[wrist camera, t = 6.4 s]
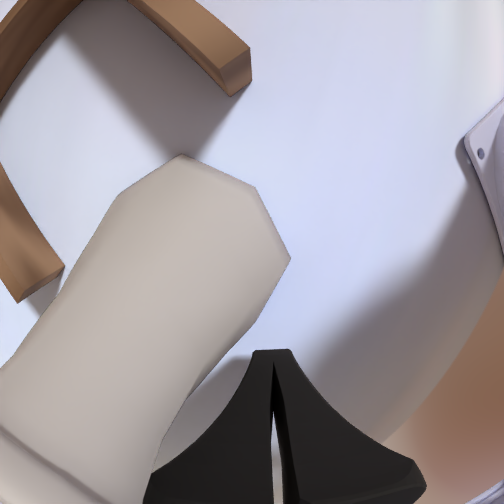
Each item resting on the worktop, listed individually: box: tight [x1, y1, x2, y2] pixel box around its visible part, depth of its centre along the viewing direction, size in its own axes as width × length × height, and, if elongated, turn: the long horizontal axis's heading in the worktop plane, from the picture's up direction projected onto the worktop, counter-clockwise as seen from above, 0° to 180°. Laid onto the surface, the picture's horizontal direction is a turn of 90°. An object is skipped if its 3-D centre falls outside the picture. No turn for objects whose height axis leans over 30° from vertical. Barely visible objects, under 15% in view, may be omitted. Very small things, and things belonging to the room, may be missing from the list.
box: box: [0, 0, 252, 304], centre depth 7 cm, size 11×12×3 cm
